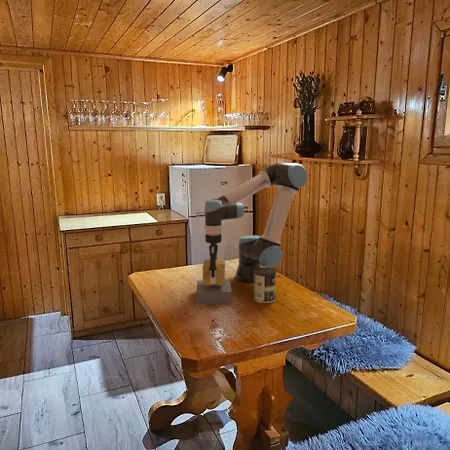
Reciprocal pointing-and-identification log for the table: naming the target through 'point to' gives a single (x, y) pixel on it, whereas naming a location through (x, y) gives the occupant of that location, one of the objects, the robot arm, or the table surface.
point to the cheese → (219, 272)
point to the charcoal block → (214, 293)
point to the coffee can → (264, 285)
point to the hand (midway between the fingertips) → (213, 279)
